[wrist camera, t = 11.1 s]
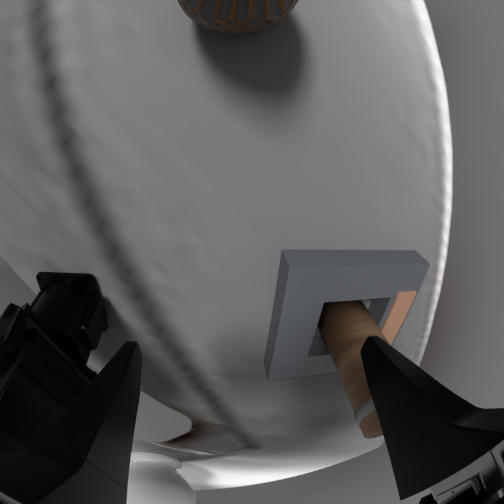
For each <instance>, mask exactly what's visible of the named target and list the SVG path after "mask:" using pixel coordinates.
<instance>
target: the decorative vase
mask: <svg viewBox="0 0 504 504" xmlns="http://www.w3.org/2000/svg"><path fill="white" fill-rule="evenodd" d="M130 462H131V463H132V464H131V465H130V467H129V477H128V488H127V503H126V504H196V495H195V493H194V491H193V489H192V488H191V486H190V485H189V484H188V483H187V482H186V481H185V480H184V479H183V478H182V476H181V475H180V474H179V473H178V472H177V471H176V470H175V469H179V468H181V467H182V462H181V461H179V460H177V459H175V458H172V457H169V456H165V455H161V454H155V453H148V452H131V459H130Z"/></svg>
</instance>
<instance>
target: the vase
mask: <svg viewBox="0 0 504 504" xmlns="http://www.w3.org/2000/svg"><path fill="white" fill-rule="evenodd" d="M178 2H179V4H180V6H181V8H182V9H183V11H184V12H185V13H186V15H187V16H188V17H189V18H191V19H192V20H193V21H194V22H196V23H197V24H199V25H200V26H202V27H204V28H207V29H209V30H212V31H215V32H219V33H224V34H248V33H253V32H257V31H260V30H263V29H266V28H268V27H270V26H272V25H274V24H276V23H277V22H279V21H280V20H281V19H283V18H284V17H285V16H286V15H287V14H288V13H289V12H290V11H291V10H292V9H293V8H294V7H295V5H296V4H297V2H298V0H178Z"/></svg>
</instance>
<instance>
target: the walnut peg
mask: <svg viewBox="0 0 504 504" xmlns="http://www.w3.org/2000/svg"><path fill="white" fill-rule="evenodd" d="M318 327H319V329H320V331H321V334H322V336H323V338H324V341H325V343H326V345H327V348H328V350H329V352H330V355H331V357H332V359H333V362H334V364H335V366H336V369H337V371H338V374H339V376H340V378H341V381H342V383H343V386H344V388H345V390H346V393H347V395H348V398H349V400H350V403H351V405H352V408H353V410H354V413H355V414H354V416H355V419H356V421H357V424H358V426H359V428H361V430H362V433H363V436H364V437H365V438H375V437H378V436H382V435H383V432H382V429H381V425H380V422H379V419H378V416H377V412H376V409H375V406H374V403H373V400H372V397H371V394H370V391H369V388H368V384H367V380H366V376H365V371H364V367H363V363H362V358H361V353H360V352H361V348H362V346H363V344H364V342H365V340H366V338H367V337H368V336H374V335H376V336H378V337H380V338H381V339H382V340H384V341H385V342H386V343H388V341H387V339H386V338H385V336H384V335H383V333H382V331H381V330H380V328H379V327H378V325H377V324H376V322H375V320H374V319H373V317H372V316H371V314H370V313H369V311H368V310H367V308H366V306H365V305H364V303H363V302H362V300H352V301H339V302H324V304H323V308H322V311H321V314H320V318H319V321H318ZM388 344H389V343H388ZM389 345H390V344H389Z"/></svg>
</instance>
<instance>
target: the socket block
mask: <svg viewBox="0 0 504 504" xmlns="http://www.w3.org/2000/svg"><path fill="white" fill-rule="evenodd" d="M429 265H430V264H429V263H428V262H427V261H426V260H425V259H424V258H423V257H422V256H421V255H420V254H419V253H418V252H416V251H374V250H282V253H281V260H280V267H279V274H278V280H277V287H276V293H275V300H274V306H273V312H272V318H271V324H270V330H269V336H268V342H267V348H266V354H265V359H264V365H265V370H266V375H267V379H268V380H279V379H289V378H298V377H306V376H314V375H321V374H328V373H334V372H338V371H337V369H336V366H335V364H334V362H333V359H332V357H331V355H330V352H329V350H328V348H327V345H326V343H325V341H324V338H323V337H319V338H313V337H314V334H315V331H316V328H317V324H318V321H319V318H320V314H321V311H322V308H323V304H324V302H339V301H352V300H365V299H372V302H371V305H370V307H369V310H368V311H369V313H370V314H371V316H372V317H373V319H374V320H375V322H376V324H377V325H378V327H379V328H380V330H381V331H382V333H383V335H384V336H385V338H386V339H387V341H388V343H389V344H390V346H392V344H393V342H394V340H395V338H396V337H397V335H398V333H399V331H400V329H401V327H402V325H403V323H404V321H405V319H406V317H407V315H408V313H409V311H410V309H411V307H412V305H413V302H414V300H415V298H416V296H417V294H418V291H419V289H420V287H421V284H422V282H423V280H424V277H425V275H426V272H427V270H428V267H429Z"/></svg>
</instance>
